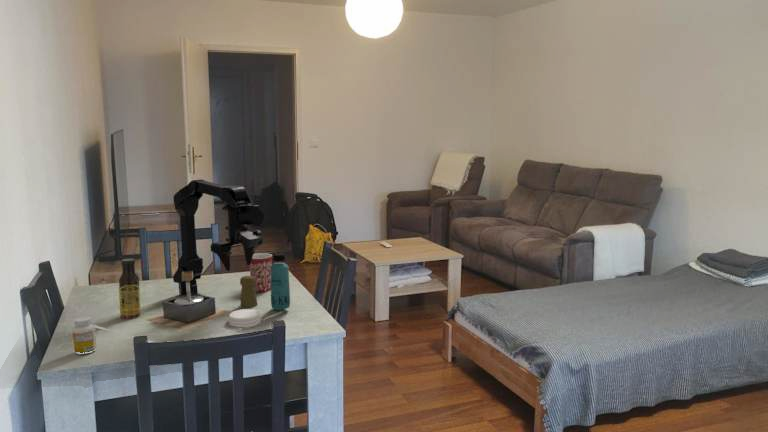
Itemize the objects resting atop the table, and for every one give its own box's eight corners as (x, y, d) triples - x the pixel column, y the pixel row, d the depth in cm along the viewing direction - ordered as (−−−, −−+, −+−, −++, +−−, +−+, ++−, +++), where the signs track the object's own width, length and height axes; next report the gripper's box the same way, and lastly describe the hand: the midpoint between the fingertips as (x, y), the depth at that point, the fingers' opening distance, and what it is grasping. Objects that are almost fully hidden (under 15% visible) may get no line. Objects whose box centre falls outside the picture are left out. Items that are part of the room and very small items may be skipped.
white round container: (234, 318, 190) (233, 308, 190) (264, 318, 190) (263, 308, 189) (224, 329, 180) (224, 318, 180) (256, 329, 180) (255, 318, 179)
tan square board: (144, 321, 188) (144, 319, 188) (193, 304, 205) (193, 303, 205) (186, 331, 178) (185, 330, 178) (234, 313, 194) (234, 312, 194)
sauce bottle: (121, 322, 187) (116, 262, 184) (120, 316, 193) (114, 258, 190) (142, 319, 190) (138, 260, 187) (141, 313, 196) (136, 256, 193)
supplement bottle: (80, 348, 165) (77, 316, 164) (99, 348, 166) (96, 315, 164) (71, 356, 160) (67, 322, 159) (91, 355, 160) (87, 321, 159)
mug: (277, 290, 222) (276, 255, 220) (255, 294, 217) (254, 259, 215) (263, 283, 232) (262, 250, 230) (242, 287, 227) (240, 253, 225)
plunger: (168, 303, 189) (166, 273, 187) (190, 295, 197) (189, 267, 195) (187, 307, 184) (185, 277, 183) (209, 299, 192) (207, 270, 190)
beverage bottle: (272, 308, 200) (269, 252, 196) (291, 307, 200) (289, 251, 197) (270, 314, 193) (267, 256, 190) (290, 313, 194) (287, 255, 191)
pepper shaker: (253, 310, 198) (251, 279, 196) (237, 309, 199) (235, 278, 198) (260, 304, 204) (259, 274, 202) (244, 303, 205) (243, 273, 204)
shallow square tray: (159, 316, 190) (158, 300, 190) (187, 307, 200) (186, 291, 199) (187, 323, 183) (186, 307, 182) (215, 313, 193) (214, 297, 192)
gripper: (231, 229, 184) (233, 277, 186) (273, 221, 199) (274, 265, 202) (208, 226, 190) (210, 272, 192) (250, 218, 205) (252, 261, 208)
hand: (238, 267), depth 198 cm, fingers open, 9 cm apart
